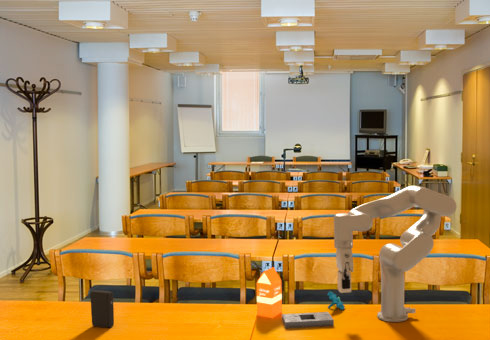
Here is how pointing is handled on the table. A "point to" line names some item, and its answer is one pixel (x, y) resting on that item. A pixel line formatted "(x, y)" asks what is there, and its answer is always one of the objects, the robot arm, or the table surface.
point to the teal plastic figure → (335, 301)
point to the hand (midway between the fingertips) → (344, 286)
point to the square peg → (341, 282)
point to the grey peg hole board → (307, 320)
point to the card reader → (102, 308)
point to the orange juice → (269, 294)
